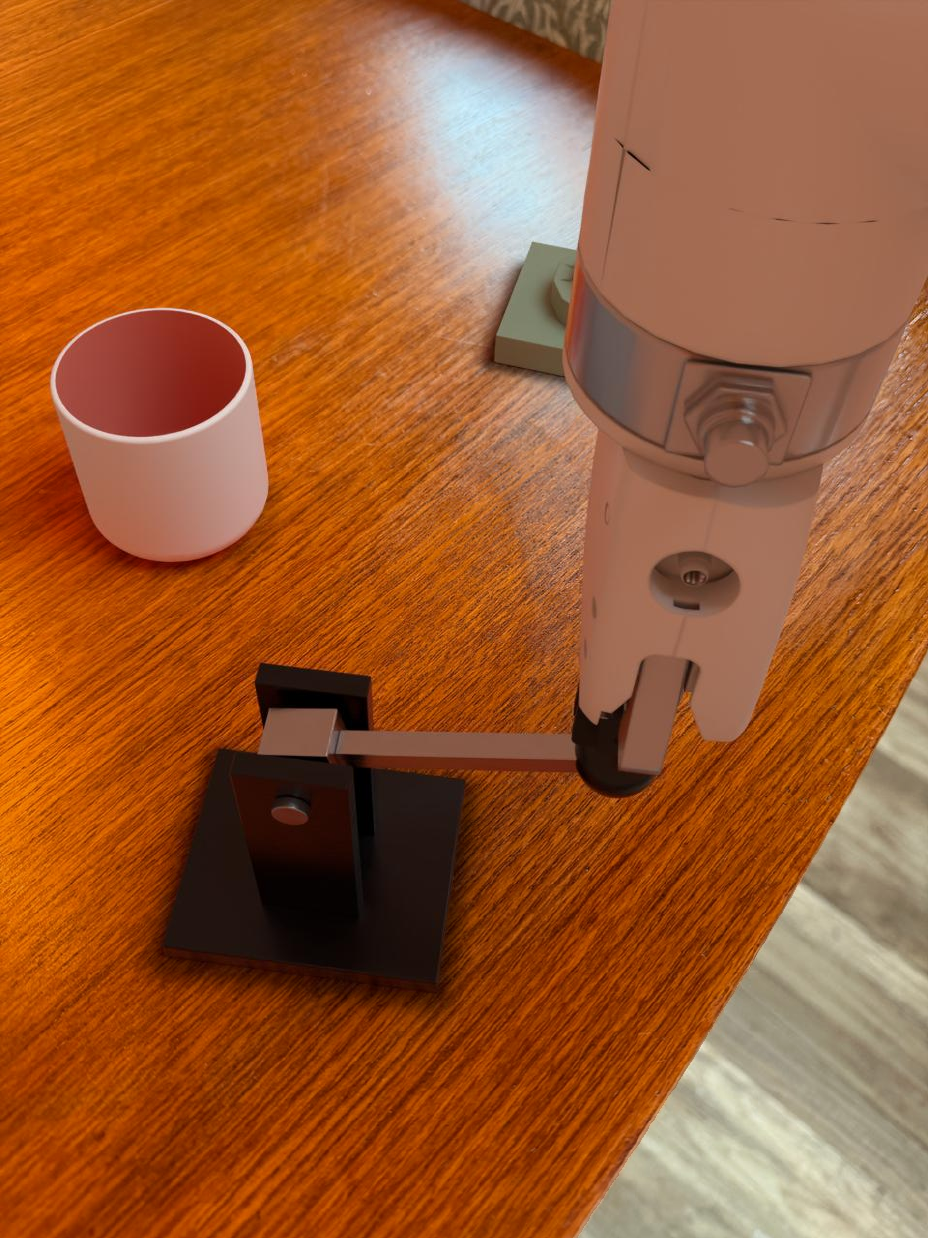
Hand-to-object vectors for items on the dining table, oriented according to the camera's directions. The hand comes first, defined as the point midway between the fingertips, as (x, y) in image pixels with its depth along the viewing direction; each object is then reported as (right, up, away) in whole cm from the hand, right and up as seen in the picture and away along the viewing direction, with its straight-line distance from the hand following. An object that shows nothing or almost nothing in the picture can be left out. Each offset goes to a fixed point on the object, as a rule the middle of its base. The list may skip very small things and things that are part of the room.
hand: (616, 730), depth 43 cm
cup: (-21, +10, +26) cm, 35 cm away
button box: (+4, +23, +36) cm, 43 cm away
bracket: (-12, -8, +13) cm, 19 cm away
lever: (-5, -2, +4) cm, 7 cm away
